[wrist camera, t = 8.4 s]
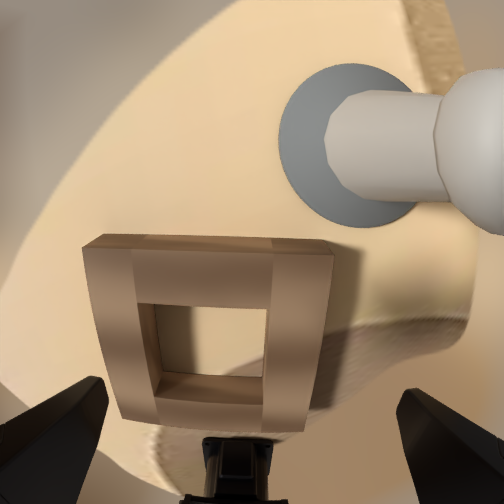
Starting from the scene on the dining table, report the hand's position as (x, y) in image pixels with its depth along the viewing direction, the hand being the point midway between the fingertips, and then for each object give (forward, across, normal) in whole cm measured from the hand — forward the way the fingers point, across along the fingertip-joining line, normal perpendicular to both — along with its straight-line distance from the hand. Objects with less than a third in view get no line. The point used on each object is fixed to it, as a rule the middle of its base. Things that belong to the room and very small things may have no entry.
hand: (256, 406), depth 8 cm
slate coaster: (+12, -6, -8) cm, 15 cm away
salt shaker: (+11, -6, -8) cm, 15 cm away
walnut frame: (+12, +3, +5) cm, 13 cm away
